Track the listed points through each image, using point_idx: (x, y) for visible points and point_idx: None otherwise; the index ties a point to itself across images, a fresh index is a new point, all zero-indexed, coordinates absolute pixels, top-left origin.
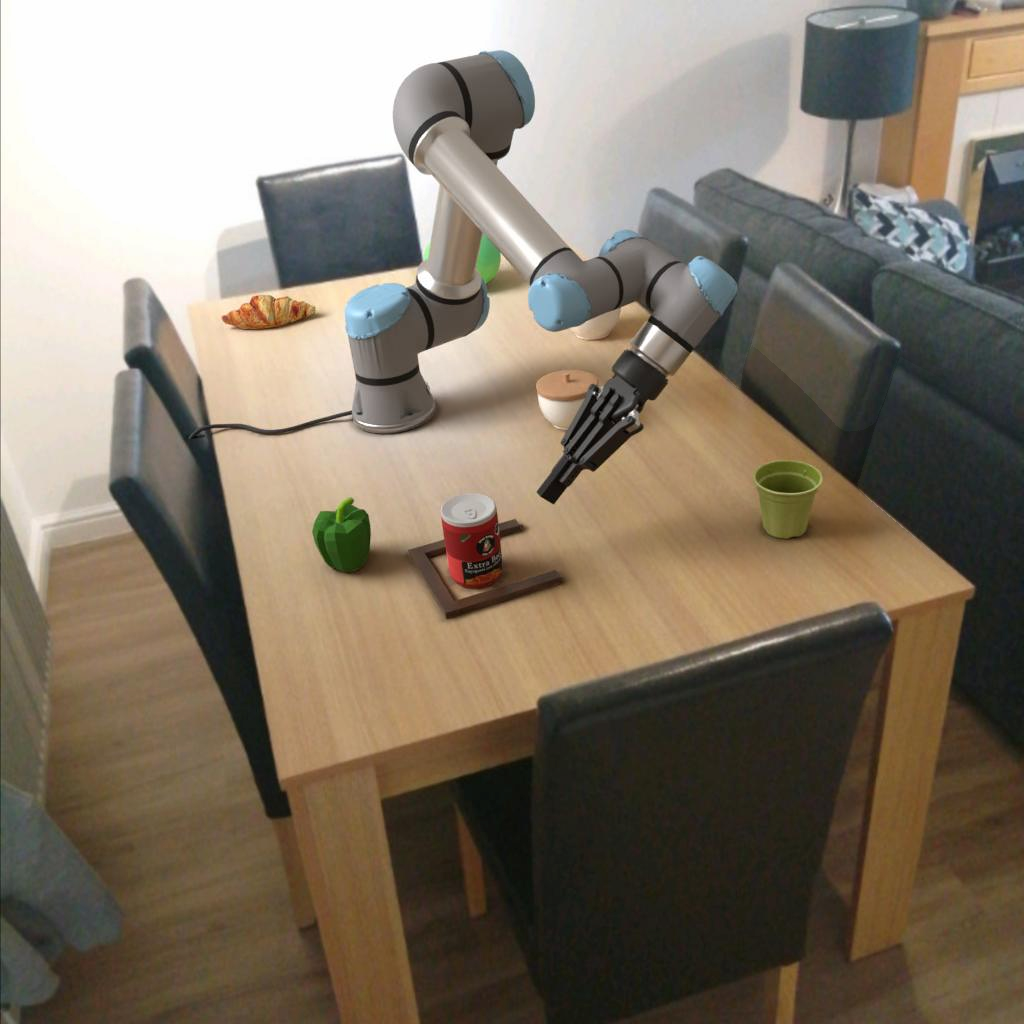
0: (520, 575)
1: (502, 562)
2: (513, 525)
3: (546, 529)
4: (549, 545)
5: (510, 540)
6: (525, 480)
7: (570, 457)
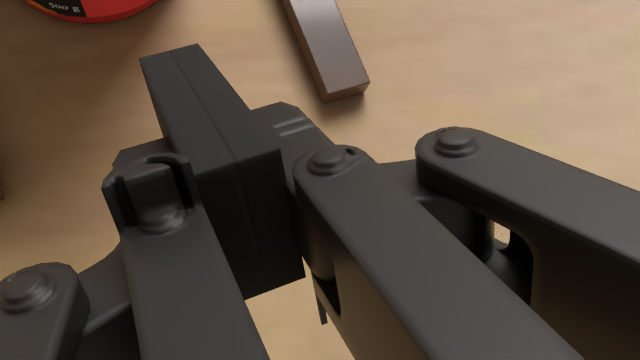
0: (42, 79)
1: (84, 12)
2: (327, 72)
3: None
4: None
5: (268, 67)
6: (632, 146)
7: (126, 174)
